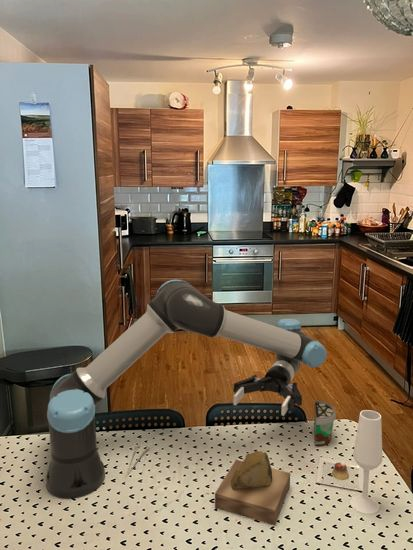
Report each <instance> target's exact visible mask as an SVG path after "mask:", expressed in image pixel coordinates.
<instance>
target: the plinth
mask: <svg viewBox="0 0 413 550" xmlns="http://www.w3.org/2000/svg"><path fill="white" fill-rule="evenodd" d="M243 461H244V460H243ZM243 461H242V460H239V459H235V460H234V462H233V464H232V466H231V467H230V469H229V470H228V472H227V473H226V475H225V477H224V478H223V480H222V481H221V483H220V484H219V486H218V488H216V489H217V490H216V491H215V493H214V508H215V509H218V510H222V511H225V512H227V513H231V514H235V515H239V516H242V517H244V518H249V519H252V520H255V521H259V522H262V523H266V524H268V525H273V526H276V524H277V521H278V518H279V515H280V512H281V511H282V508H283V505H284V503H285V500H286V498H287V495H288V492H289V490H290V488H291V472H288V471H285V470H284V471H283V470H281V469H276V468H272V467H271V469H272V482H271V484H270V485H269V486H261V487H248V488H238V489H232V486H231V479H232V477H233V475H234V473H235V471H236V469H238V468H239V467H240V465H241V463H242V462H243Z"/></svg>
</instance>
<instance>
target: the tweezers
mask: <svg viewBox="0 0 413 550" xmlns="http://www.w3.org/2000/svg"><path fill="white" fill-rule="evenodd" d="M140 447H141V445H140V444H139V445H135V446H134V450H133V451H132V455H131V459H130V463H129V465H128V468H127V471H126V474H125V477H124V478H125V479H128V478H127V477H129V475H130V474H131V472H132V471H133V470H134V468H135V466H137V464H138V462H139V461H140V459H141V458H143V456H144V455H145V454H146V453H147V452H148V451H149V450H150V449H151V447H150V446H148V445H146V448H145V449H144V450H143V452H142V453H141V454H140V455H139V457H138V458H137V459H136V461H135V462H134V463H133V460H134V458H135V455H136V453H137V451H138V449H140ZM132 463H133V465H132ZM131 466H132V467H131ZM130 467H131V468H130Z"/></svg>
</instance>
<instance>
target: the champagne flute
mask: <svg viewBox="0 0 413 550" xmlns="http://www.w3.org/2000/svg"><path fill="white" fill-rule="evenodd" d="M382 428H383V427H382V415H381V414H380V413H379V412H377V411H375V410H371V409H370V410H369V409H365V410H364V409H363V410H361V411H360V413H359V417H358V423H357V430H356V435H355V440H354V446H353V454H352V455H353V459H354V461H355V463H357V464H358V465H359V466H360V467H361V468H363V469H364V481H363V491H362V495H361V494H359V495H354V496H352V498H350V501H349V502H350V505H351V507H352V508H353V509H354V510H356V511H357V512H358V513H362V514H366V515H371V514H372V515H373V514H376V513H377V512H378V511H379V509H380V506H379V503H378V502H377V501H376V500H375V499H373V498H372V497H370V496H368V495H369V494H368V493H369V482H370V481H369V480H370V472H371V471H373V470H375V469H377V468H378V467H379V466H380V465H382V463H383V460H384V459H383V435H382V434H383V433H382V430H383V429H382Z"/></svg>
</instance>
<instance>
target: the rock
mask: <svg viewBox="0 0 413 550" xmlns="http://www.w3.org/2000/svg"><path fill="white" fill-rule="evenodd" d="M271 468H272V464H271V462H270V458H269V455H268V453H267V452H266V451H264V452H263V451H262V450H261V451H260V450H257V451H254V452H251V453H247V454H246V455H245V458H244V459H243V462H242V463H241V465H240V467H239V468H238V469H236V471H235V473H234V475H233V477H232V479H231V486H232V489H238V488H248V487H261V486H269V485H270V484H271V482H272V469H273V468H272V469H271Z"/></svg>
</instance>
